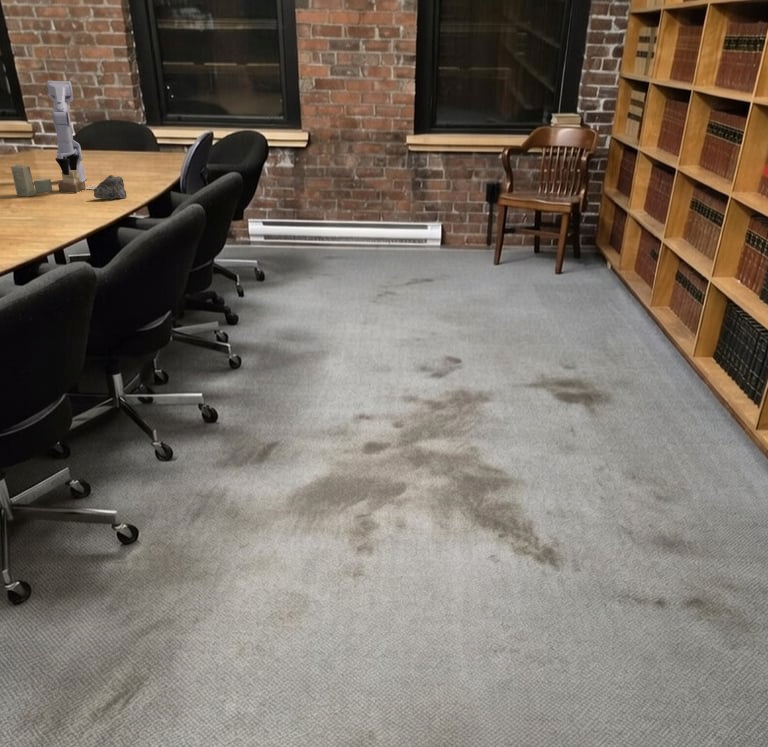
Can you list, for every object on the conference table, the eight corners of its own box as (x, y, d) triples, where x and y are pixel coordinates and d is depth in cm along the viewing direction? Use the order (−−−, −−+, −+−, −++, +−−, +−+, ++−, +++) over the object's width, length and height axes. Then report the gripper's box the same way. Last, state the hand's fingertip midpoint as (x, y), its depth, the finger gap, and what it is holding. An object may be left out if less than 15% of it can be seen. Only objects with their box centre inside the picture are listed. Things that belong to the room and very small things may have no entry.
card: (91, 185, 309) (91, 184, 308) (106, 185, 309) (106, 184, 308) (82, 189, 300) (82, 188, 299) (97, 190, 300) (97, 188, 299)
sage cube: (41, 190, 295) (39, 178, 292) (52, 190, 295) (50, 179, 292) (35, 192, 290) (33, 180, 288) (47, 192, 290) (45, 181, 288)
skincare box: (36, 195, 285) (30, 166, 279) (28, 197, 281) (23, 167, 275) (23, 193, 286) (18, 164, 281) (16, 195, 282) (10, 166, 277)
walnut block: (69, 189, 300) (67, 180, 298) (86, 190, 299) (84, 181, 297) (59, 192, 293) (58, 183, 291) (76, 194, 292) (75, 184, 290)
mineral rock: (94, 201, 279) (90, 177, 275) (95, 196, 288) (92, 172, 284) (126, 201, 283) (123, 177, 279) (127, 195, 292) (124, 172, 288)
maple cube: (68, 181, 297) (66, 169, 294) (79, 181, 296) (77, 170, 294) (63, 183, 292) (61, 171, 290) (74, 183, 292) (72, 172, 290)
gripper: (63, 138, 293) (68, 169, 299) (47, 142, 280) (53, 175, 286) (79, 139, 293) (83, 170, 299) (64, 143, 280) (69, 176, 286)
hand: (70, 173), depth 293 cm, fingers open, 7 cm apart
